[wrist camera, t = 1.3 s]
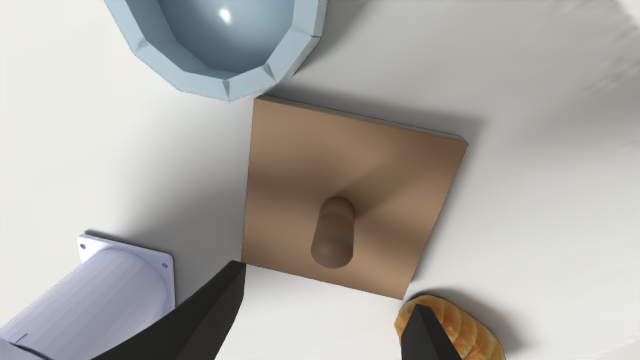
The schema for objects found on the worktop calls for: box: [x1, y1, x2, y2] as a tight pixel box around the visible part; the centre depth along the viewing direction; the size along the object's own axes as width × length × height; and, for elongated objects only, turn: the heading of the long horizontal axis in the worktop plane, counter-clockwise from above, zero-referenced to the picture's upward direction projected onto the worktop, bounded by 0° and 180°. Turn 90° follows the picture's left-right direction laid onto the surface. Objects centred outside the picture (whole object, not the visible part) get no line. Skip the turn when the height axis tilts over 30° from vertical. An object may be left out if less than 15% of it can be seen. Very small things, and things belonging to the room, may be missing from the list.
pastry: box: [394, 295, 506, 360], centre depth 23 cm, size 9×7×4 cm
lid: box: [241, 97, 468, 300], centre depth 17 cm, size 12×12×5 cm
